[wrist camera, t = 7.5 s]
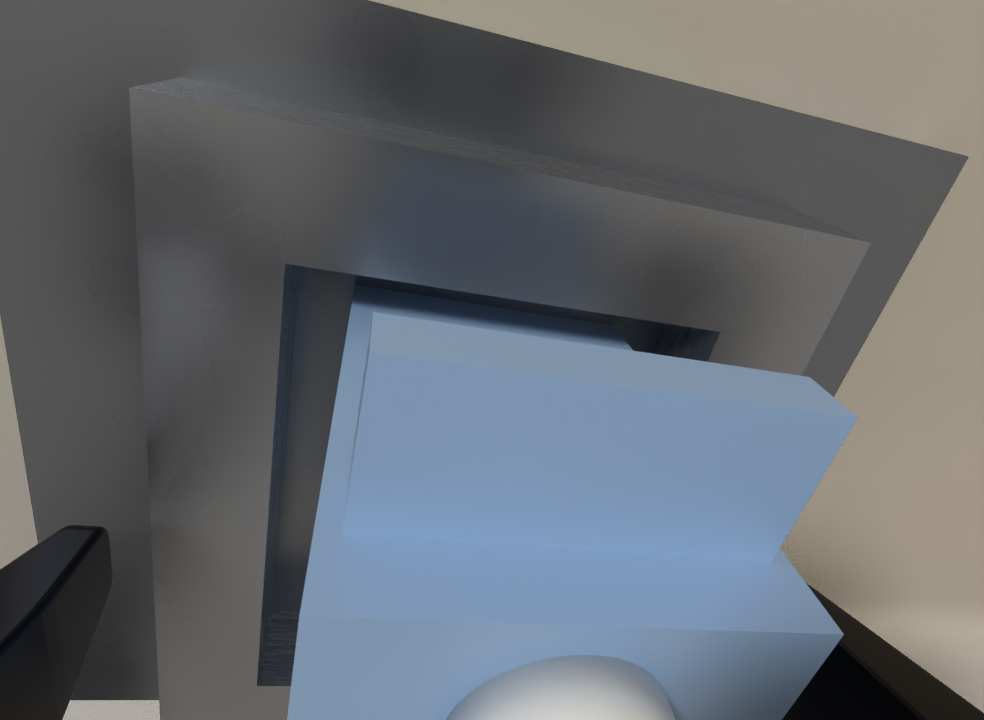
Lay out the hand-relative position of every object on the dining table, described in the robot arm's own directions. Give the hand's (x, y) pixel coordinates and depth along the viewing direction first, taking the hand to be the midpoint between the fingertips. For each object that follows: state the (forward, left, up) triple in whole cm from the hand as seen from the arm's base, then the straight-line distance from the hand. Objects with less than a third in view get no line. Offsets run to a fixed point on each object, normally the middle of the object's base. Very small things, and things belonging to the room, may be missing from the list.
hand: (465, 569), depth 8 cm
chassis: (0, 0, -3) cm, 3 cm away
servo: (0, 0, -2) cm, 2 cm away
